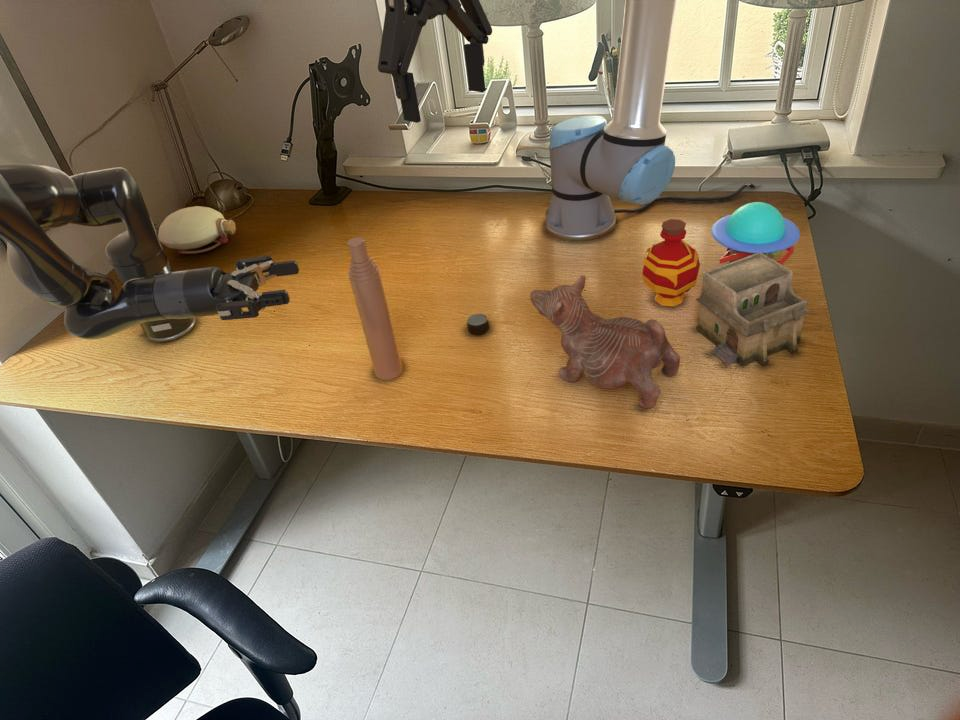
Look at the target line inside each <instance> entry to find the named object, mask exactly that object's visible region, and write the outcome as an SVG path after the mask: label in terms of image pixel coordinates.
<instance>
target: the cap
mask: <svg viewBox="0 0 960 720" xmlns="http://www.w3.org/2000/svg"><path fill="white" fill-rule="evenodd" d="M466 326H467V331H468V333H469V334H470V335H471V336H483V335H485V334H486V333H488V332H489V330H490V324H489V319H488V316H487V315H486V314H484V313H473V314H471V315H469V316H468V317H467V319H466Z"/></svg>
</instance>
